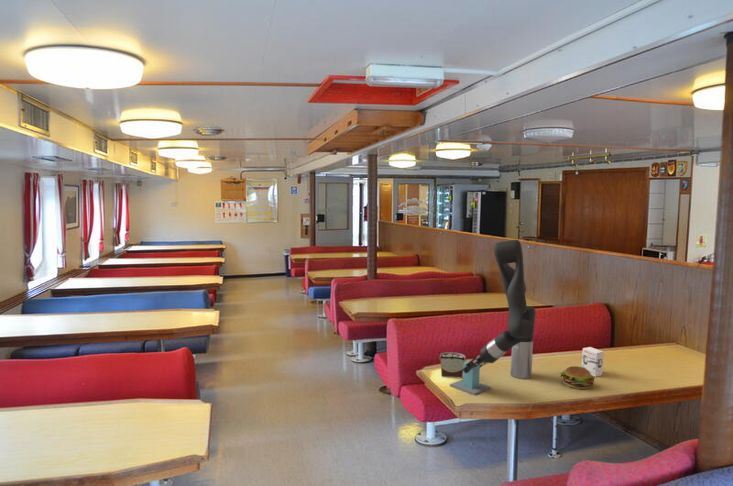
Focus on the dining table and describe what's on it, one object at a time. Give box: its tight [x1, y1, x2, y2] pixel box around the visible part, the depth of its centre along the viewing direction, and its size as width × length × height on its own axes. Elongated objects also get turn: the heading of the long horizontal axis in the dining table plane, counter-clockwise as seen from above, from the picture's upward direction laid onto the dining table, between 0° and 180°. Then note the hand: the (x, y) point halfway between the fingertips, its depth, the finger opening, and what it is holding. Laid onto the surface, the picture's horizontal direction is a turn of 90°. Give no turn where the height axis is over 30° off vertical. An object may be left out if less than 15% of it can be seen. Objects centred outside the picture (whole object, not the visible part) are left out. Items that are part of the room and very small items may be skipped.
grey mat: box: [449, 379, 492, 396], centre depth 221 cm, size 12×13×1 cm
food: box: [559, 365, 596, 390], centre depth 228 cm, size 14×14×8 cm
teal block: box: [462, 360, 481, 389], centre depth 221 cm, size 5×5×10 cm
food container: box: [438, 351, 467, 379], centre depth 236 cm, size 12×6×10 cm, turn 84°
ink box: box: [580, 346, 604, 378], centre depth 243 cm, size 9×5×12 cm, turn 26°
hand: (470, 369), depth 221 cm, fingers open, 8 cm apart
